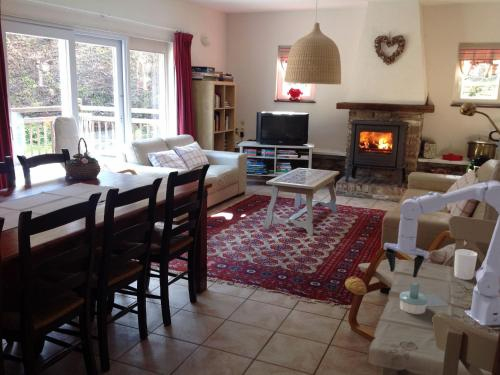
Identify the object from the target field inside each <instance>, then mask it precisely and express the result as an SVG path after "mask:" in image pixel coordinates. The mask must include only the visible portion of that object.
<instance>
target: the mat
mask: <svg viewBox="0 0 500 375" xmlns="http://www.w3.org/2000/svg"><path fill="white" fill-rule="evenodd" d="M424 295H425V296H427V297H428V303H427V304H426V308H430V307H432V308H433V307H447V306H448V307H449V306H450V305H449V304H448V303H447V302H446V301H444V300H443V299H442V298H440V297H439V296H438V295H437V294H436V293H427V294H424Z"/></svg>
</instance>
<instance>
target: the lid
mask: <svg viewBox="0 0 500 375" xmlns="http://www.w3.org/2000/svg"><path fill="white" fill-rule="evenodd" d="M420 286H421V285H420V284H419V283H417V282H410V287H409V290H407V291H406V290H405V291H402V292H400V293H399V300H400V299H401V300H402V301H403V302H405V303H408V304H411V305H425V304H427V303H428V297H427V296H425V294H423V293H421V292H420Z"/></svg>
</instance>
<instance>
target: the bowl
mask: <svg viewBox="0 0 500 375" xmlns="http://www.w3.org/2000/svg"><path fill="white" fill-rule="evenodd" d="M399 300H400V301H399V308H400V310H402V311H403V312H405V313H409V314H410V315H411V314H413V315H422V314H425V312H426V308H427V307H426V304H425V305H411V304H408V303H405V302H403V301H402V300H401V299H400V298H399Z"/></svg>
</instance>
